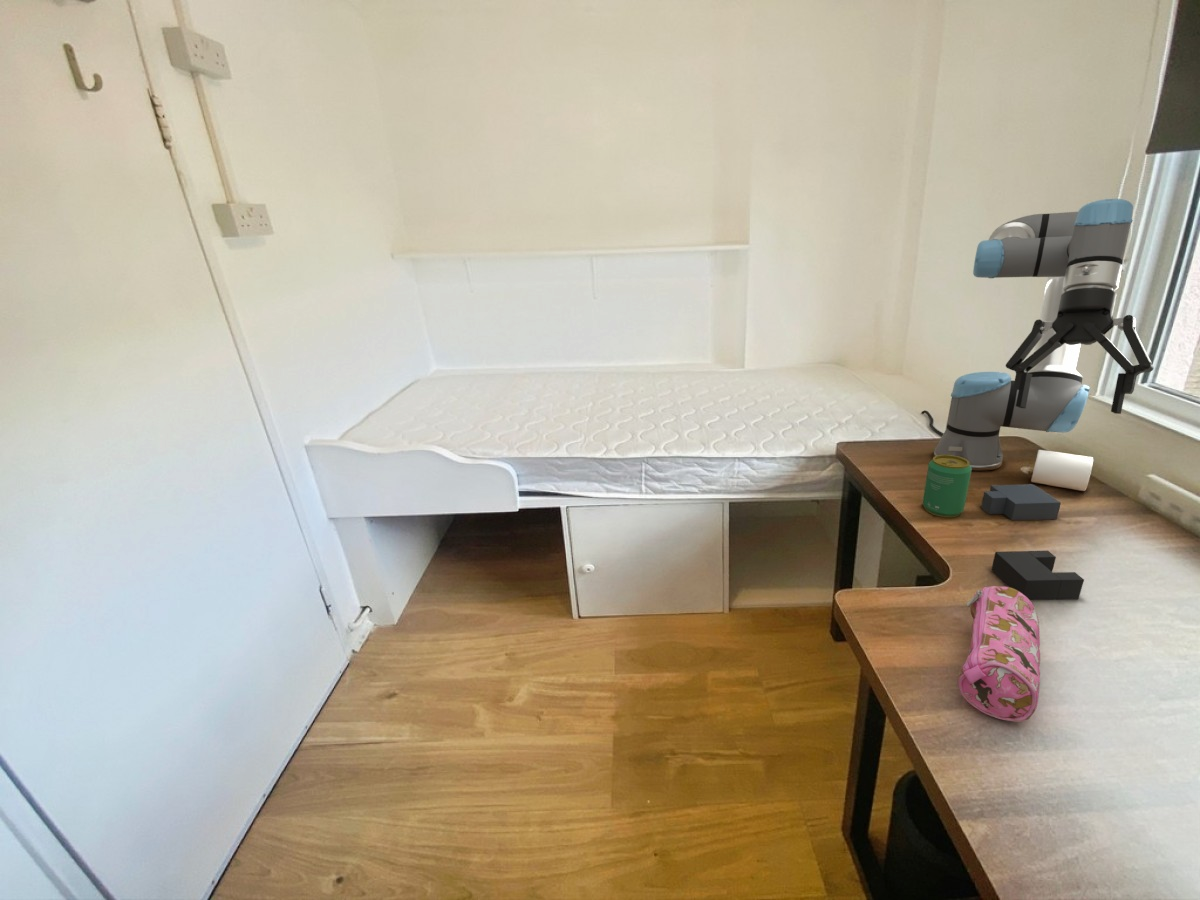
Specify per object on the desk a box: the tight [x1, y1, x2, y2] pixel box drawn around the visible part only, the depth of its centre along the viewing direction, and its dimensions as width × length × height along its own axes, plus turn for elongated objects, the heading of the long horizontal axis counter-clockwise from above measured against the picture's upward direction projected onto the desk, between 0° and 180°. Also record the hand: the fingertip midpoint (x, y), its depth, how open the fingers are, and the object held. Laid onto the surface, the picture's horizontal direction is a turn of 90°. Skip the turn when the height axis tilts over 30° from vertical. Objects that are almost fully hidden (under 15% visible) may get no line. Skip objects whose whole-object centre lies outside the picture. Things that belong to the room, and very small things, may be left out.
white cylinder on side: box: [1030, 449, 1094, 492], centre depth 130 cm, size 12×10×8 cm
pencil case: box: [956, 585, 1041, 723], centre depth 79 cm, size 21×9×9 cm, turn 145°
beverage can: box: [922, 455, 973, 518], centre depth 122 cm, size 8×8×12 cm
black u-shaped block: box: [991, 550, 1085, 601], centre depth 97 cm, size 9×9×4 cm
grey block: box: [980, 483, 1062, 521], centre depth 121 cm, size 9×12×4 cm
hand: (1065, 410), depth 99 cm, fingers open, 13 cm apart
